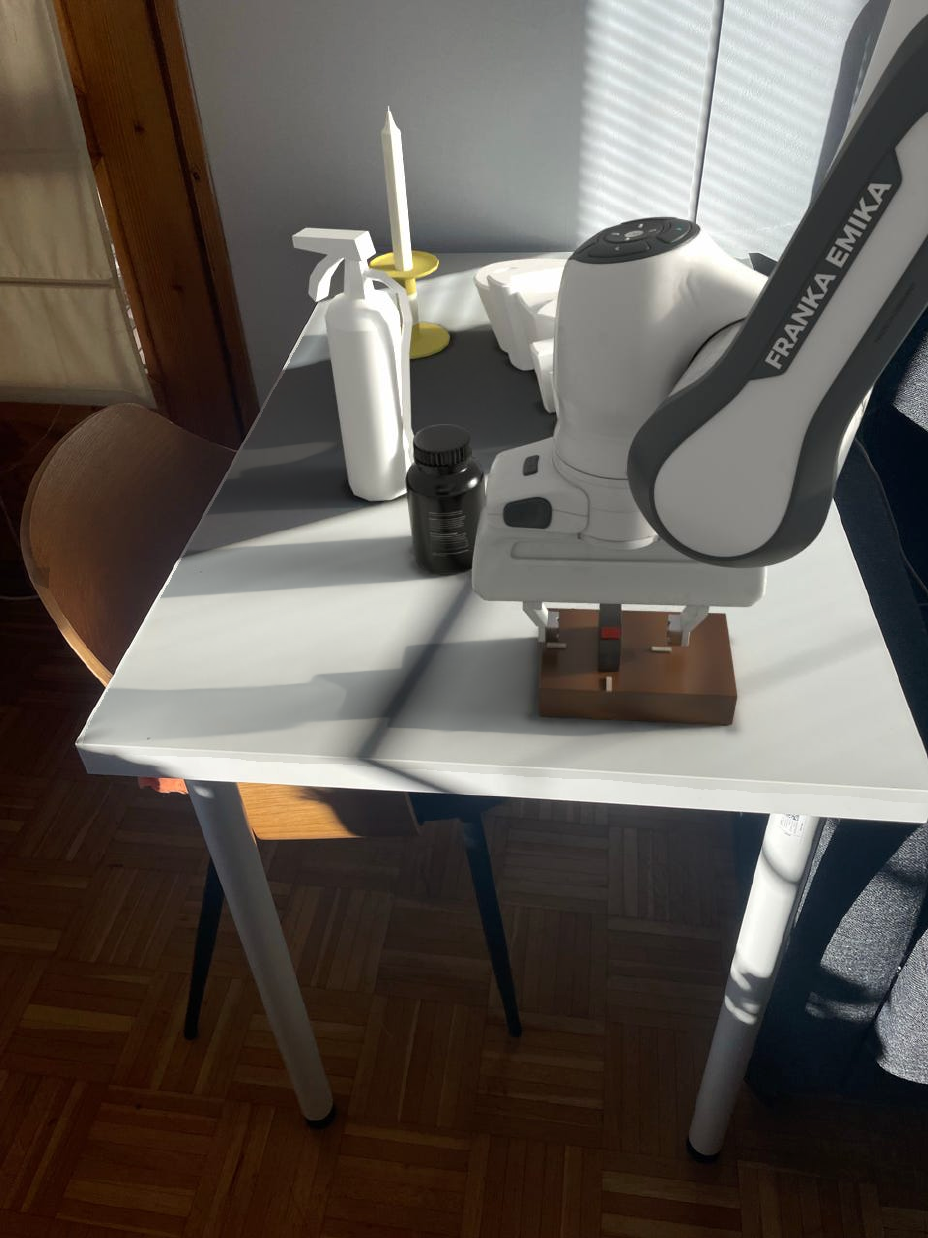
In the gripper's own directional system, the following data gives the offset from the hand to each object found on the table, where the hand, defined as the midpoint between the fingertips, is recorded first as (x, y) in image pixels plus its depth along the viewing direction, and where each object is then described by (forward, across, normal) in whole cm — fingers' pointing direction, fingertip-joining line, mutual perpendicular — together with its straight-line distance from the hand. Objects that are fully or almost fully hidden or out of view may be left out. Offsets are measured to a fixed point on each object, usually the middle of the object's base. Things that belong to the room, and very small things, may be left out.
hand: (612, 639), depth 71 cm
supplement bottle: (+4, +14, -15) cm, 21 cm away
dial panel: (+4, -2, 0) cm, 4 cm away
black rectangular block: (+1, 0, 0) cm, 1 cm away
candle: (+4, +25, -59) cm, 64 cm away
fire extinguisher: (+4, +22, -26) cm, 34 cm away
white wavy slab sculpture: (+4, +4, -50) cm, 50 cm away
